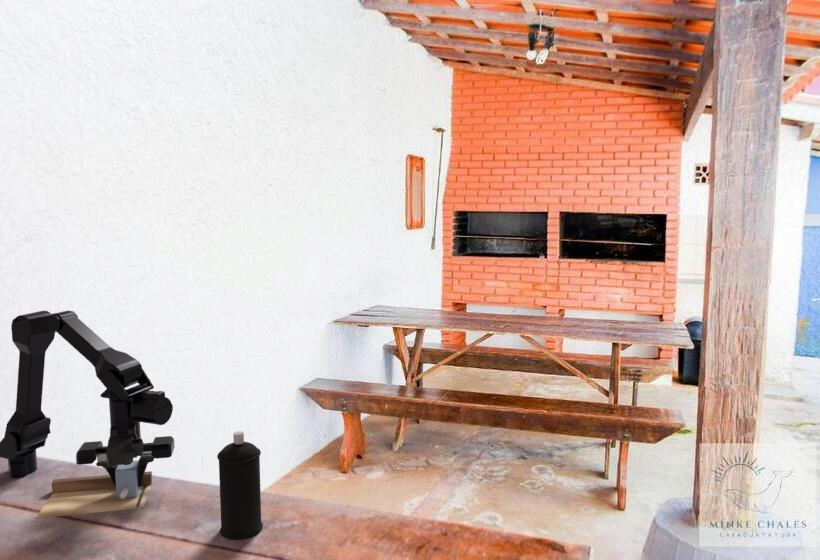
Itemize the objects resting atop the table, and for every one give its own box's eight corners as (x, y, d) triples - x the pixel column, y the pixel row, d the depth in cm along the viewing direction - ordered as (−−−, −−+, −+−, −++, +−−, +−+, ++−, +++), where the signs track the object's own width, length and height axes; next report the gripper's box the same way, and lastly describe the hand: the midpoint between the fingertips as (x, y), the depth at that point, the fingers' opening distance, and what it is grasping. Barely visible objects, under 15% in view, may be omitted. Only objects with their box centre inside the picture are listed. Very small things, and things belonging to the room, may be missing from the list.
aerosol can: (253, 542, 123) (250, 442, 120) (212, 538, 125) (208, 439, 122) (269, 520, 131) (266, 426, 128) (230, 516, 133) (227, 423, 130)
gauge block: (121, 487, 141) (120, 461, 141) (141, 485, 142) (139, 460, 141) (113, 506, 133) (111, 478, 132) (133, 504, 134) (132, 477, 133)
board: (54, 496, 140) (53, 479, 140) (152, 488, 145) (151, 471, 144) (36, 524, 129) (34, 506, 128) (143, 514, 133) (142, 496, 133)
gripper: (65, 436, 127) (71, 510, 130) (166, 429, 131) (169, 500, 134) (81, 416, 138) (85, 485, 140) (173, 410, 142) (176, 477, 144)
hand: (128, 487), depth 139 cm, fingers closed on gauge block, 4 cm apart
